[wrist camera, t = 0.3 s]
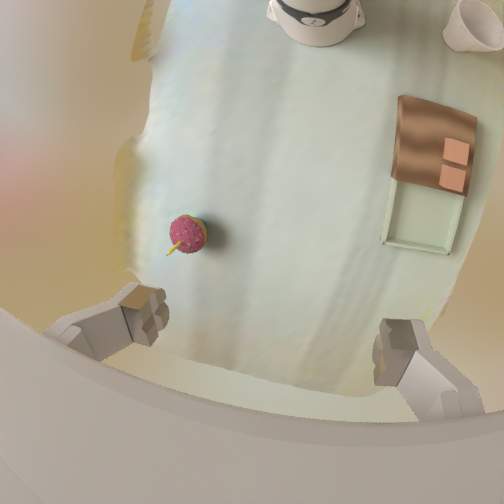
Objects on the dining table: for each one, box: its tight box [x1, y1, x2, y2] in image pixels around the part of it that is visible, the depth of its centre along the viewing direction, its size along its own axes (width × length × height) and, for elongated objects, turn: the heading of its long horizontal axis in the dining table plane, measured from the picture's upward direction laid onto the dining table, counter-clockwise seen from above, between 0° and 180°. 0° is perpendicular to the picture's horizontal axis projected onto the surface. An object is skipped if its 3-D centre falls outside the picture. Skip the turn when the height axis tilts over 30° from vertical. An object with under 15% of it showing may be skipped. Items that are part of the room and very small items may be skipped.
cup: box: [442, 0, 504, 52], centre depth 25 cm, size 10×10×14 cm
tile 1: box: [439, 164, 466, 192], centre depth 39 cm, size 4×4×3 cm
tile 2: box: [443, 138, 470, 166], centre depth 37 cm, size 4×4×3 cm
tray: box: [380, 177, 464, 255], centre depth 48 cm, size 13×16×3 cm
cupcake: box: [166, 215, 207, 256], centre depth 58 cm, size 9×8×12 cm
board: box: [391, 95, 477, 197], centre depth 41 cm, size 16×16×4 cm
